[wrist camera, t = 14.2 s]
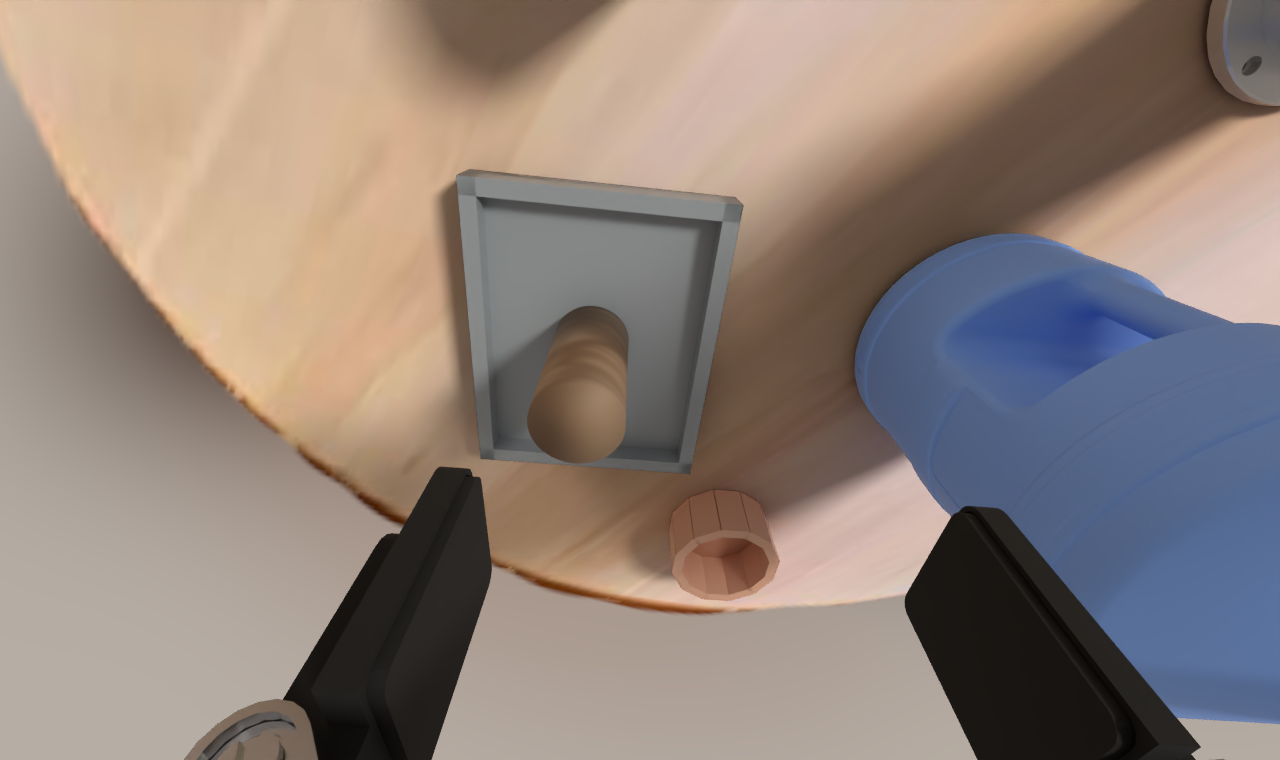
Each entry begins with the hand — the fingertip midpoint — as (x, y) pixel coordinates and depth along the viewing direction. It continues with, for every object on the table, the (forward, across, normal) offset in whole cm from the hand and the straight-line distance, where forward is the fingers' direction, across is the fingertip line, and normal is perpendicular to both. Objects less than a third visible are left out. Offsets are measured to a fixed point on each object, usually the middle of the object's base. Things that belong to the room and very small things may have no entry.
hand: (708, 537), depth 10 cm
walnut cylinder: (+23, +5, +7) cm, 25 cm away
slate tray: (+24, +4, +7) cm, 26 cm away
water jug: (+25, -22, +6) cm, 34 cm away
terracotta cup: (+24, -7, +26) cm, 36 cm away
